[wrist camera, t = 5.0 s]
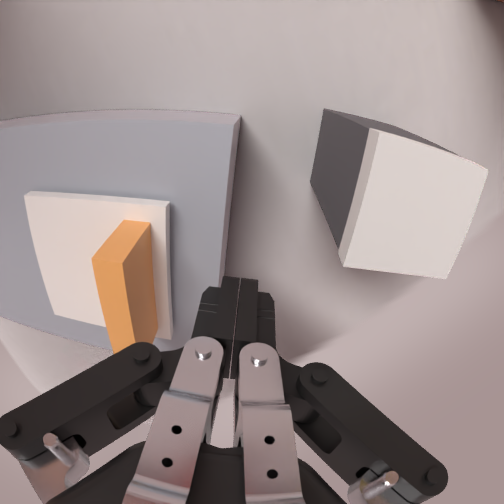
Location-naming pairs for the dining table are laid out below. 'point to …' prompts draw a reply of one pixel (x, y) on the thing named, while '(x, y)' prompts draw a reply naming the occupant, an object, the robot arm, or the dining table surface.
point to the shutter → (105, 261)
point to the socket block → (121, 185)
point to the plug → (393, 196)
